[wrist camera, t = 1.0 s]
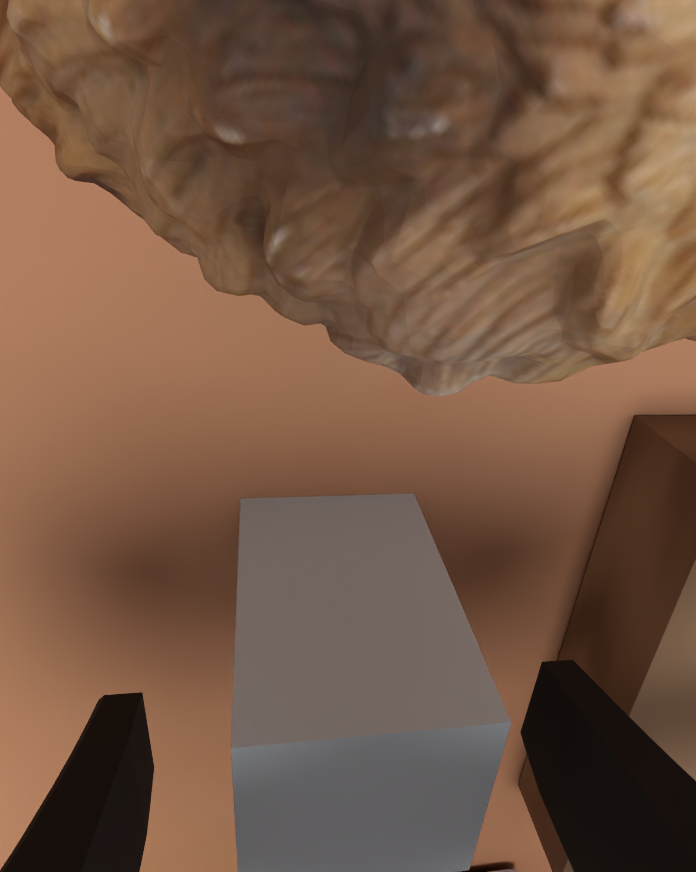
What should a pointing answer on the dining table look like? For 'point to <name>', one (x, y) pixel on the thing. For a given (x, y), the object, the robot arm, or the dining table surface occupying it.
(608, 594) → the walnut plinth
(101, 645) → the dining table surface
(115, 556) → the dining table surface
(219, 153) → the lion figurine
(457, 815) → the grey block
